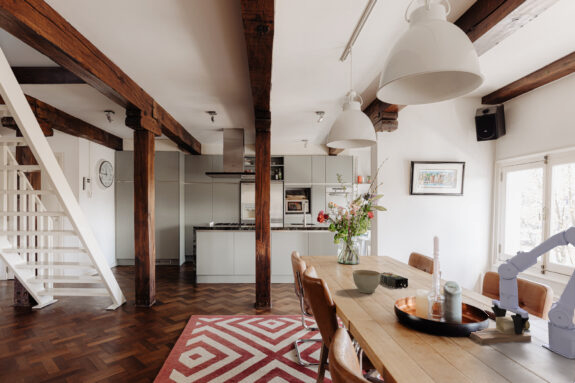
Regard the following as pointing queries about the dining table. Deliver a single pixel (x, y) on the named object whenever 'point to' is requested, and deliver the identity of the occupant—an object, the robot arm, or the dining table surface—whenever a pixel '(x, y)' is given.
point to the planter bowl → (366, 280)
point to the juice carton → (393, 279)
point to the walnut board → (497, 336)
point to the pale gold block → (505, 325)
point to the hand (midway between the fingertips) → (509, 330)
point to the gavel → (495, 319)
